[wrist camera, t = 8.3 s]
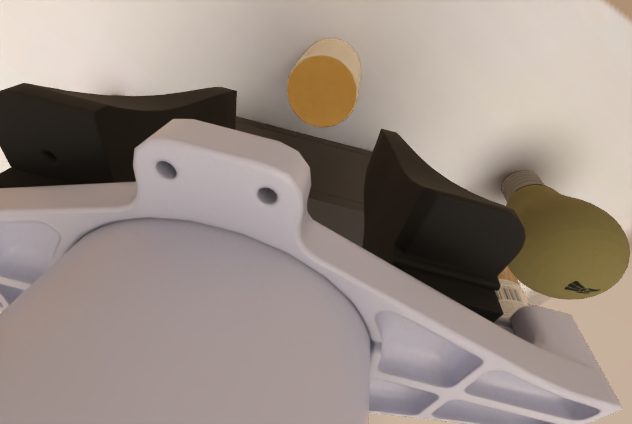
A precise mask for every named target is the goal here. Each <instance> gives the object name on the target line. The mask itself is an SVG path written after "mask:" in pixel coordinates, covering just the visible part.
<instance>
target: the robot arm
mask: <svg viewBox="0 0 632 424" xmlns="http://www.w3.org/2000/svg"><path fill="white" fill-rule="evenodd" d="M236 97H237V91H234V90H230V89H227V88H223V87H213V88H205V89H199V90H193V91H187V92H180V93H173V94H165V95H155V96H111V95H98V94H88V93H80V92H72V91H65V90H60V89H54V88H49V87H43V86H37V85H33V84H27V83H22V84H19V85H16V86H13V87H10V88H7V89H4V90H1V91H0V147H1V149H2V151H3V152H4V154H5V156H6V158H7V160H8V162H9V164H10V166H11V168H9V169H7V170H6V171H4V172H2V173H0V311H1V312H2V313H1V314H0V424H369V413H375V414H384V415H392V416H402V417H410V418H419V419H427V420H437V421H445V422H454V423H461V424H589V423H591V422H594V421H596V420H599V419H601V418H604V417H606V416H609V415H611V414H614V413H616V412H619V411H621V409H622V405H621V404H620V402H619V400H618V398H617V396H616V395H615V393H614V391H613V389H612V387H611V386H610V384H609V382H608V380H607V378H606V377H605V375H604V373H603V371H602V369H601V368H600V366H599V364H598V362H597V360H596V359H595V357H594V355H593V353H592V351H591V350H590V348H589V346H588V344H587V343H586V341H585V339H584V337H583V335H582V334H581V332H580V330H579V329H578V326H577V325H576V323H575V321H574V319H573V317H572V316H571V315H570V314H567V313H563V312H559V311H555V310H551V309H547V308H543V307H539V306H534V305H528V306H523V307H521V308H519V309H518V310H517V311H516V312H515V313H514V314H513V315H512V316H511V317H510V318H505V317H501V316H502V315H503V314H504V313H503V310H502V308H501V305H500V302H499V300H498V297H497V294H496V291H498V290H499V289H500V287H501V284H500V282H499V279H498V277H497V276H498V275H499V274H500V273H501V272H502V271H503V270H504V269H505V268H506V267H507V266H508V265H509V264H510V263H511V262H512V260H513V259H514V258H515V257H516V256H517V255H518V254H519V252H520V251H521V249H522V248H523V246H524V243H525V239H526V235H525V228H524V227H523V225H522V223H521V221H520V219H519V217H518V215H517V214H516V212H515V210H514V209H512V208H509V207H506V206H504V205H501V204H498V203H495V202H493V201H490V200H487V199H485V198H483V197H480V196H478V195H476V194H474V193H472V192H470V191H468V190H466V189H464V188H462V187H460V186H458V185H457V184H455V183H453V182H451V181H450V180H448V179H447V178H445V177H444V176H442V175H441V174H439V173H438V172H437V171H435V170H434V169H433V168H431V167H430V166H429V165H428V164H427V163H426V162H425V161H423V160H422V159H421V158H420V157H419V156H418V155H417V154H416V153H415V152H414V151H413V150H412V149H411V147H410V146H409V145H408V144H407V143H406V142H405V141H404V140H403V139H402V138H401V137H400V136H399V135H398V134H397V133H396V132H392V131H388V130H384V129H381V131H380V134H379V137H378V139H377V142H376V145H375V148H374V150H373V153H372V156H371V159H370V161H369V164H368V167H367V170H366V175H365V182H364V237H363V246H362V247H360V246H358V245H356V244H355V243H353V242H351V241H349V240H348V239H346V238H344V237H342V236H341V235H339V234H337V233H335V232H334V231H332V230H330V229H328V228H327V227H325V226H323V225H321V224H320V223H318V222H316V221H314V220H313V219H312V218H311V216H310V215H309V214H308V211H307V200H308V196H309V192H310V187H311V175H310V167H309V165H308V164H307V163H306V161H305V160H304V159H303V157H302V156H301V154H300V153H299V152H298V151H297V150H295V149H293V148H291V147H289V146H287V145H285V144H283V143H281V142H280V141H276V140H272V139H268V138H264V137H260V136H257V135H253V134H249V133H245V132H241V131H237V130H235V127H236ZM495 290H496V291H495Z"/></svg>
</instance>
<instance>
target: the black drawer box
mask: <svg viewBox="0 0 632 424" xmlns="http://www.w3.org/2000/svg"><path fill="white" fill-rule="evenodd" d="M235 130H237V131H241V132H245V133H249V134H253V135H257V136H260V137H264V138H268V139H272V140H276V141H280V142H281V143H283V144H285V145H287V146H289V147H291V148H293V149H295V150H297V151H298V152H299V153H300V154H301V156H302V157H303V159H304V160H305V161H306V163H307V164H308V165H309V167H310V175H311V187H310V192H309V196H308V200H307V211H308V214H309V215H310V216H311V218H312V219H313V220H314V221H316V222H318V223H320V224H321V225H323V226H325V227H327V228H328V229H330V230H332V231H334V232H335V233H337V234H339V235H341V236H342V237H344V238H346V239H348V240H349V241H351V242H353V243H355V244H356V245H358V246H360V247H362V246H363V237H364V182H365V175H366V170H367V167H368V164H369V161H370V159H371V156H372V153H373V152H371V151H367V150H363V149H359V148H355V147H351V146H347V145H344V144H340V143H336V142H332V141H328V140H324V139H321V138H317V137H313V136H309V135H305V134H301V133H297V132H294V131H290V130H286V129H282V128H278V127H274V126H270V125H267V124H263V123H259V122H255V121H251V120H247V119H243V118H240V117H236V127H235Z"/></svg>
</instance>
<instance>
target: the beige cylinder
mask: <svg viewBox="0 0 632 424" xmlns="http://www.w3.org/2000/svg"><path fill="white" fill-rule="evenodd" d="M360 78H361V64H360V60H359V58H358V56H357V54H356V52H355V51H354V49H353V48H352V47H351V46H350V45H348V44H347V43H345V42H344V41H341V40H339V39H333V38H328V39H322V40H320V41H318V42H316V43H314V44H313V45H312V46H311V47H310V48H309V49H308V50H307V51H306V52H305V53H304V55H303V56H302V57H301V58H300V60H299V61H298V62H297V63H296V65H295V66H294V67H293V69H292V70H291V72H290V75H289V77H288V81H287V96H288V100H289V103H290V105H291V107H292V109H293V111H294V112H295V113H296V115H297V116H298V117H299V118H300V119H302V120H303V121H304V122H306V123H308V124H310V125H313V126H317V127H329V126H333V125H336V124H339V123H340V122H342V121H344V120H345V119H346V118H347V117H348V116H349V115H350V114H351V113H352V111H353V109H354V108H355V105H356V103H357V99H358V92H359V85H360Z"/></svg>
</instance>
